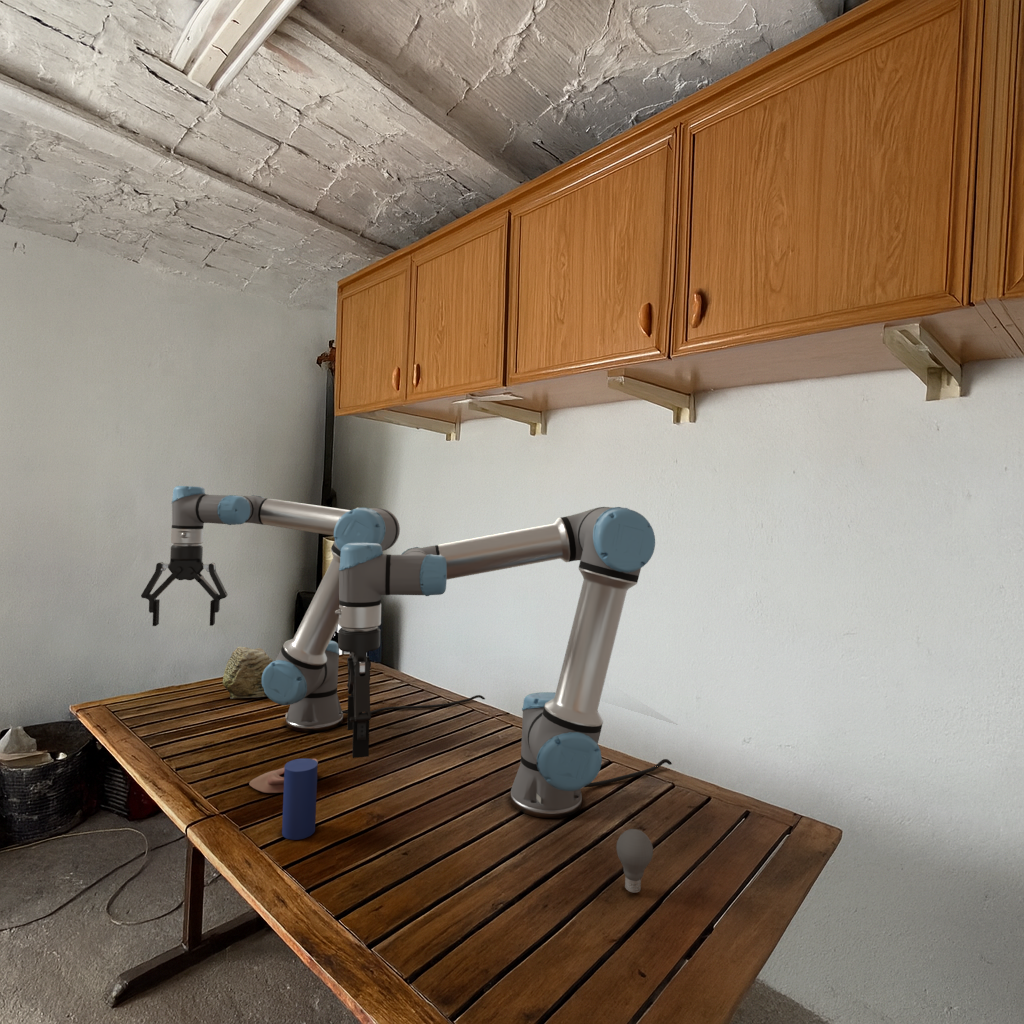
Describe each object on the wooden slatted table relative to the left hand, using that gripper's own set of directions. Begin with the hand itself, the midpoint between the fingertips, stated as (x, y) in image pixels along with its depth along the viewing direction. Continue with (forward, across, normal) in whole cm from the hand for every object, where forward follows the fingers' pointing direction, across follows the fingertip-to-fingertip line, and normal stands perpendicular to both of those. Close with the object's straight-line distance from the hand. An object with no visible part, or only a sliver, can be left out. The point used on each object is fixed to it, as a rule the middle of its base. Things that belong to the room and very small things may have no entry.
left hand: (184, 625), depth 167 cm
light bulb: (+28, +89, -87) cm, 128 cm away
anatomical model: (+28, +29, -37) cm, 54 cm away
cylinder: (+28, +34, -58) cm, 73 cm away
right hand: (+9, +44, -64) cm, 78 cm away
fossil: (+28, +15, +28) cm, 42 cm away
